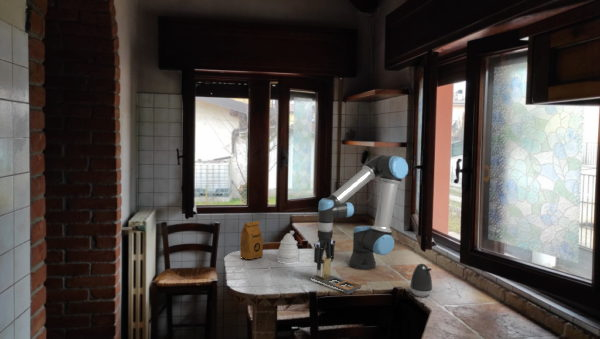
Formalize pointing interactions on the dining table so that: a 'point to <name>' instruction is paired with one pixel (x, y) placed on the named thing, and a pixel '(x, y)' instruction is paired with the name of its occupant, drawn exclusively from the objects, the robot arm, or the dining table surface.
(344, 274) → the dining table surface
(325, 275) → the brass peg
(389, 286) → the dining table surface
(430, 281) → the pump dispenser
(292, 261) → the honey pot
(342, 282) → the rail
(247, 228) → the coffee package
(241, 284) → the dining table surface
